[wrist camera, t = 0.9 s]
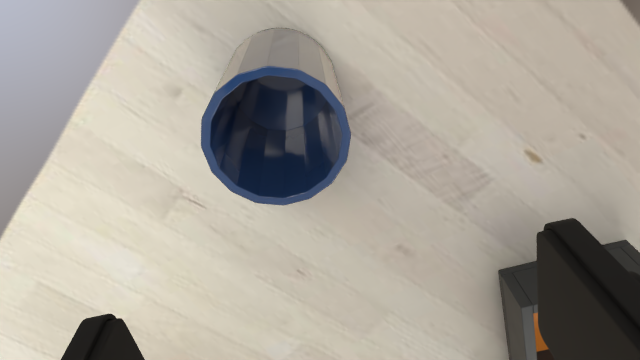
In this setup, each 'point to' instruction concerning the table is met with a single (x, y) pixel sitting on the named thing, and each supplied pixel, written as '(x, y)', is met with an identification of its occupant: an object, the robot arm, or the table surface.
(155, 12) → the table surface
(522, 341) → the holder
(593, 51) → the table surface
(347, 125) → the cup
